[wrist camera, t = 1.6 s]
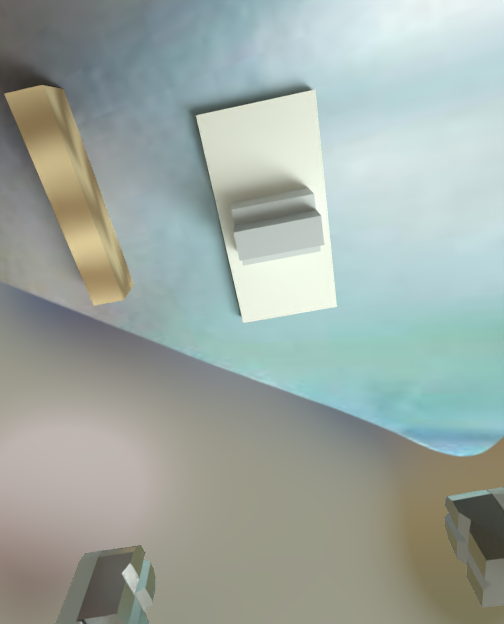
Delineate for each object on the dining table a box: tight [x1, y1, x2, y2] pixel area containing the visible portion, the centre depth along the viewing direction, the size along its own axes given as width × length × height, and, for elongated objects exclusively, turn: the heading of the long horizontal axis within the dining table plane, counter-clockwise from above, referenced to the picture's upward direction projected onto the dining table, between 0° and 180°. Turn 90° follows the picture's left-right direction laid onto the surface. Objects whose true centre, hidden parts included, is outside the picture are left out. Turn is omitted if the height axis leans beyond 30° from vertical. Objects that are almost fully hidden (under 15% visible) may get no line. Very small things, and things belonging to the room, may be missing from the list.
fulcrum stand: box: [196, 90, 337, 323], centre depth 33 cm, size 20×10×7 cm, turn 11°
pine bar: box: [4, 85, 134, 305], centre depth 34 cm, size 18×3×4 cm, turn 11°
